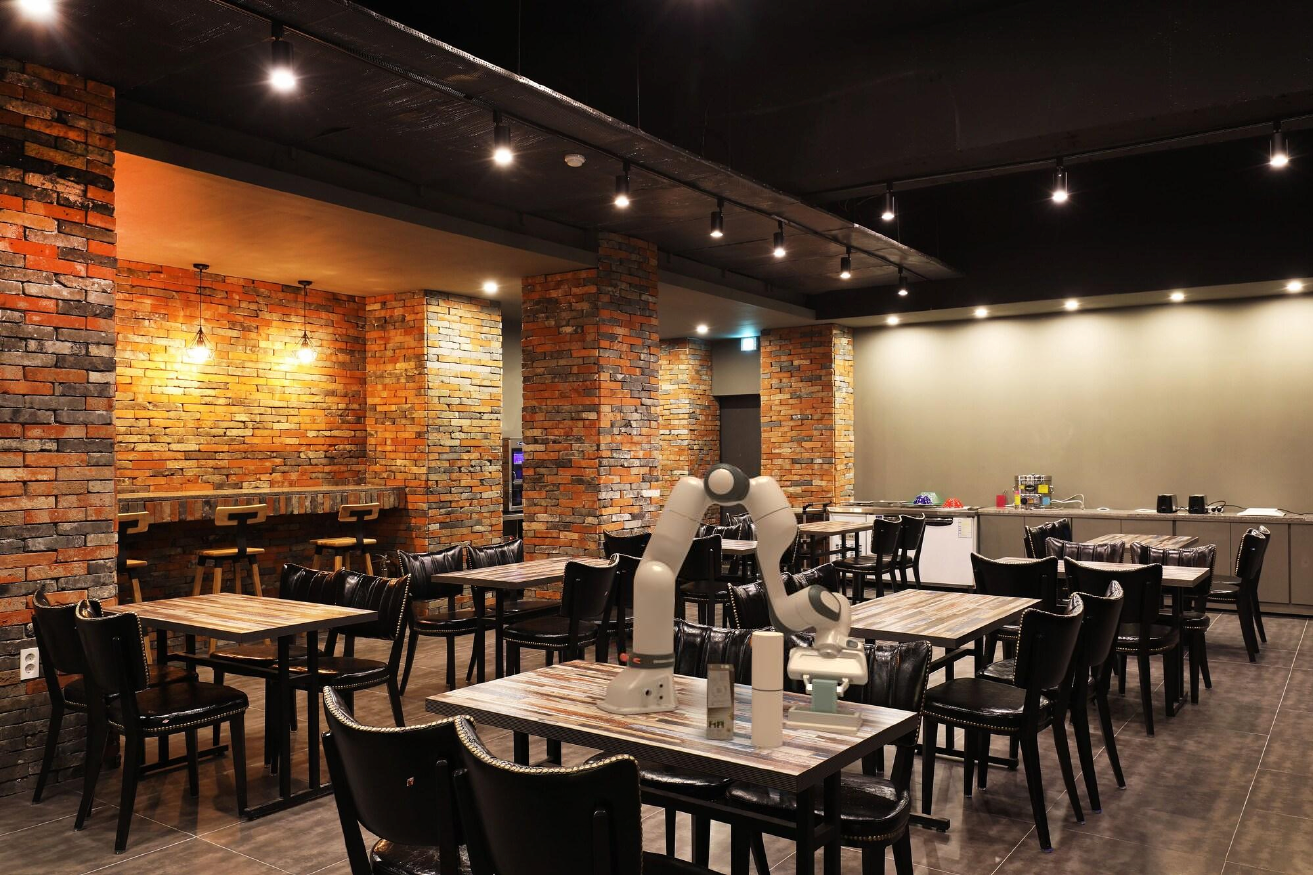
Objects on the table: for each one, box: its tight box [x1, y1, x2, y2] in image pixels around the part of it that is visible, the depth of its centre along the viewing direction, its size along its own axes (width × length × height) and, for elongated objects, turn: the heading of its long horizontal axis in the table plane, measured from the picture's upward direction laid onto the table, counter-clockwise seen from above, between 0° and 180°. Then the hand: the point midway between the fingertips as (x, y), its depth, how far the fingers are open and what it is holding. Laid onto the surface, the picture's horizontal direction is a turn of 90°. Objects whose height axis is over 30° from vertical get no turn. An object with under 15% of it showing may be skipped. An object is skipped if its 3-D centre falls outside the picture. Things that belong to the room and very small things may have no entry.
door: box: [811, 679, 839, 714], centre depth 236 cm, size 3×6×8 cm, turn 71°
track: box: [785, 704, 863, 735], centre depth 236 cm, size 13×17×4 cm
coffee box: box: [706, 663, 735, 741], centre depth 225 cm, size 9×6×16 cm
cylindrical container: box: [750, 631, 784, 749], centre depth 218 cm, size 7×7×25 cm
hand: (824, 693), depth 236 cm, fingers open, 6 cm apart
